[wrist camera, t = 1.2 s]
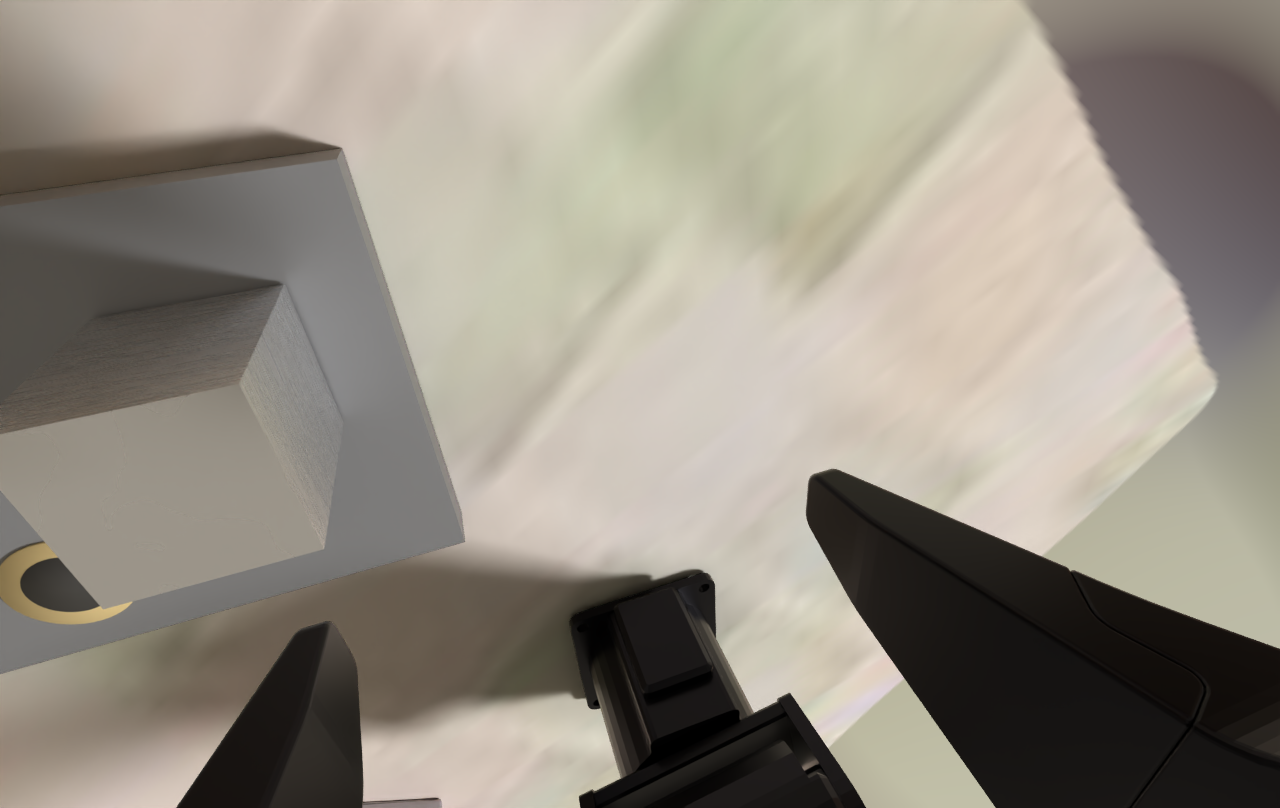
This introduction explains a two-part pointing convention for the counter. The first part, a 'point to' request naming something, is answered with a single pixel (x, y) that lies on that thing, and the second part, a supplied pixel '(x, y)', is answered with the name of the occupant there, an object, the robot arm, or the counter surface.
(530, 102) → the counter surface
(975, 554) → the robot arm
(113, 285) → the bolt plate
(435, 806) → the supplement box
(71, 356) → the slide leg
